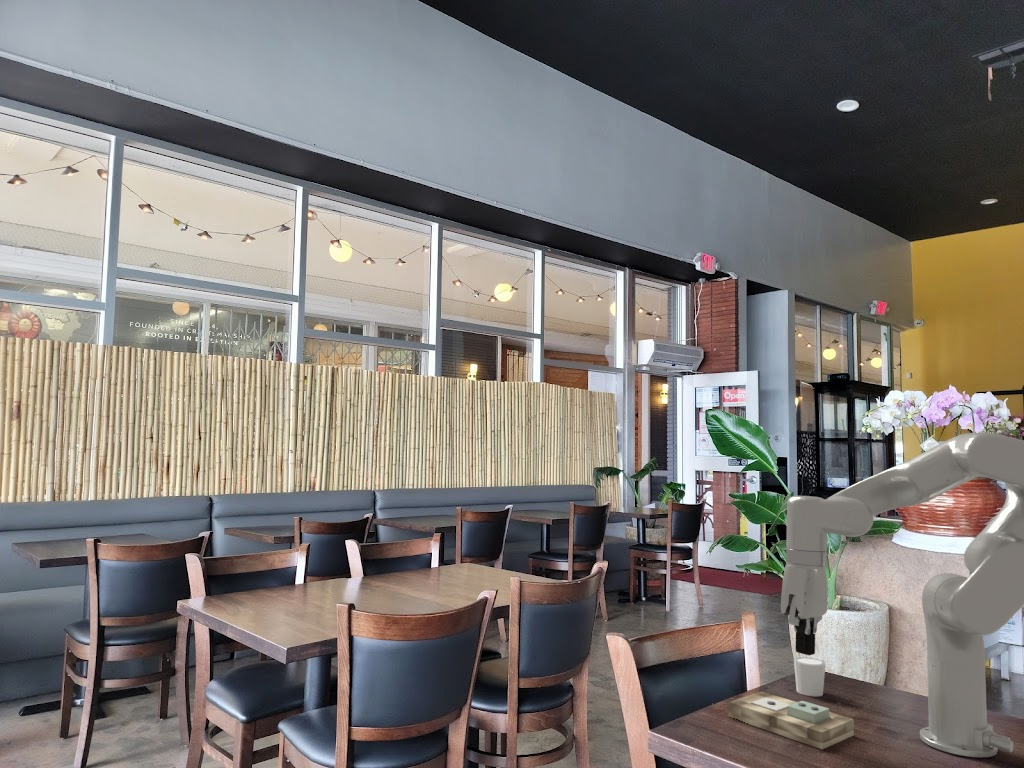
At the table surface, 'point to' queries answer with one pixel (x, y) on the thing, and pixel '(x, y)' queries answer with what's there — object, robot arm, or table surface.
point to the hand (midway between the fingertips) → (805, 653)
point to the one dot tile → (770, 704)
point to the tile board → (791, 722)
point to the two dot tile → (808, 712)
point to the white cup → (809, 676)
